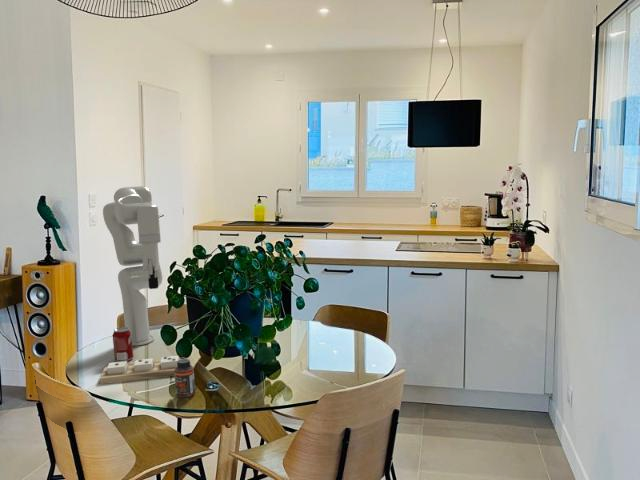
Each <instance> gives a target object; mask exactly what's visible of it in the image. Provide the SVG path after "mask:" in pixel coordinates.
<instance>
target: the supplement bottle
mask: <svg viewBox="0 0 640 480" xmlns="http://www.w3.org/2000/svg"><path fill="white" fill-rule="evenodd" d="M177 366H178V367H176V368H175V376H174V381H175V394H176V396H177V397H178V398H181V399H184V398H185V399H187V398H190V397H191V398H192V397H193V396H194V395H196V385H195V381H196V380H195V370H194V367H193V365H191V359H189V358H185V359H180V360H178V361H177Z"/></svg>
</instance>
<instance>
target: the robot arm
mask: <svg viewBox="0 0 640 480" xmlns="http://www.w3.org/2000/svg"><path fill="white" fill-rule="evenodd" d="M113 200H114V201H113V202H109V203H107V204H105V205H104V206H103V208H102V215H103V216H102V217H103V221H104V223H105V224H104V225H106V228H107V229H108V231H109V233H110V234H111V237H112V240H113V246H114V250H115V253H116V258H117V261H118V263H119V265H121V266H122V267H123V266H124V267H125V268H123V269H120V271H119V272H118V274H117V282H118V285H119V289H120V294H121V300H122V309H123V317H124V320H123V321H124V327H127V328H129V331H130V332H131V336H132V347H137V346H143V345H148V344H150V343H152V342H154V341H155V337H154V335H151V334H150V324H149V313H148V311H149V309H148V300H147V298H146V296H145V295H144V294H143V293H142V292H141V291H140V290H143V289H149V290H154V289H159V286H161V285H162V283H163V275H162V274H163V273H162V269H161V264H160V260H159V259H160V258H159V256H160V255H159V246H158V244H160V243H161V242H162V240H161V229H160V228H161V227H160V217H159V208H158V206H157V205H156V204H155V203H153V202H152V201H153V197H152V193H151V191H150V189H149V188H148V187H146V186H144V185H143V186H127V187H125V186H124V187H121V188H120V187H119V189H117V190H116V191H115V192H114V195H113ZM127 225H137V230H138V231H137V233H138V241H136V240H135V235H134V234H135V233H134V232H133V230H132V229H131V228H130V227H129V226H127Z"/></svg>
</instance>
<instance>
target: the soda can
mask: <svg viewBox="0 0 640 480" xmlns="http://www.w3.org/2000/svg"><path fill="white" fill-rule="evenodd" d="M112 344H113V352H114V353H113V354H114V360H115V362H122V361H127V362H129V361H131V360H132V359H133V358H134V349H133V347H134V346H132V336H131V332H130V331H129V328H127V327H125V326H124V327H123V326H122V327H117V328H114V330H113V334H112Z"/></svg>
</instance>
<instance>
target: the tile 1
mask: <svg viewBox="0 0 640 480" xmlns="http://www.w3.org/2000/svg"><path fill="white" fill-rule="evenodd" d="M127 364H128V361H122V362H118V361H115V362H109V363H108V365H107V366H108V367H107V375H108V374H117V373H127V370H128V367H127Z"/></svg>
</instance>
